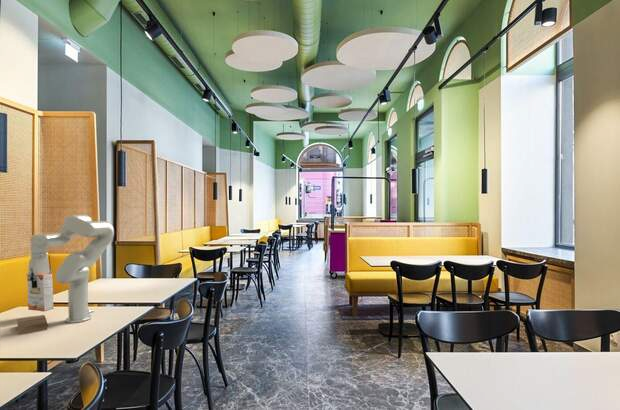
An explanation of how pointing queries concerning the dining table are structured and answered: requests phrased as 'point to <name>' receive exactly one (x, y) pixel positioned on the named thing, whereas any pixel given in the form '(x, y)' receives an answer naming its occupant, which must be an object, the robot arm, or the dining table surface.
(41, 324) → the walnut block
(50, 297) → the cracker box
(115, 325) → the dining table surface
